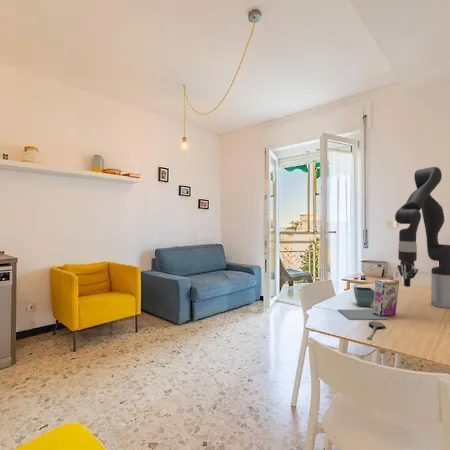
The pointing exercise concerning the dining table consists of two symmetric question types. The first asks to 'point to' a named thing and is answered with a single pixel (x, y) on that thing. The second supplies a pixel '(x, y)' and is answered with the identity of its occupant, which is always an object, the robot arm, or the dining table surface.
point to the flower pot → (364, 296)
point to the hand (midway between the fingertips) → (406, 286)
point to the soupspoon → (375, 324)
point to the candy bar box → (385, 297)
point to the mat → (361, 315)
